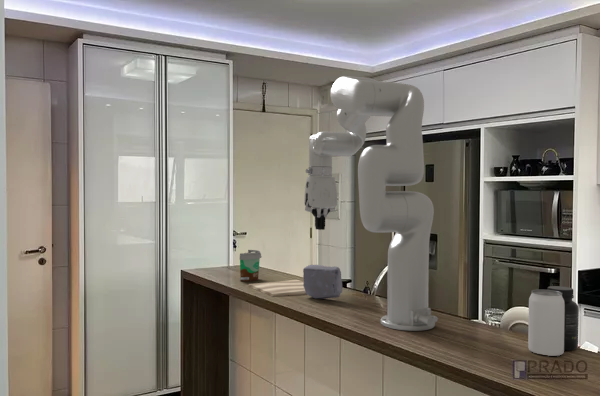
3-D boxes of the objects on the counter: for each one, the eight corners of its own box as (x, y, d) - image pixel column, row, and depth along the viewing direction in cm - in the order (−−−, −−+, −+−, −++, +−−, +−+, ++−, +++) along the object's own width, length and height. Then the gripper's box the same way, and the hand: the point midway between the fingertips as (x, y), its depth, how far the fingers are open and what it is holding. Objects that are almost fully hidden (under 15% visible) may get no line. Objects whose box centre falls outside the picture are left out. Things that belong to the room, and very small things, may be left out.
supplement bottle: (575, 342, 112) (576, 286, 112) (580, 352, 106) (581, 292, 106) (540, 339, 115) (541, 284, 115) (542, 348, 108) (543, 289, 108)
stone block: (301, 298, 156) (301, 264, 156) (310, 296, 160) (310, 263, 160) (335, 304, 149) (335, 268, 149) (344, 301, 153) (344, 266, 153)
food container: (256, 283, 181) (257, 254, 181) (239, 282, 182) (239, 253, 182) (264, 277, 193) (265, 249, 193) (248, 276, 194) (248, 249, 194)
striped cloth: (324, 292, 165) (324, 288, 165) (272, 297, 157) (272, 293, 157) (297, 283, 181) (297, 279, 181) (248, 287, 173) (248, 284, 173)
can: (568, 351, 106) (568, 292, 106) (558, 359, 101) (559, 296, 101) (534, 345, 110) (535, 287, 110) (523, 352, 106) (524, 292, 105)
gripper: (306, 172, 165) (305, 231, 165) (346, 173, 172) (345, 229, 173) (294, 172, 172) (294, 229, 172) (333, 173, 179) (333, 227, 179)
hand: (320, 229), depth 172 cm, fingers closed
